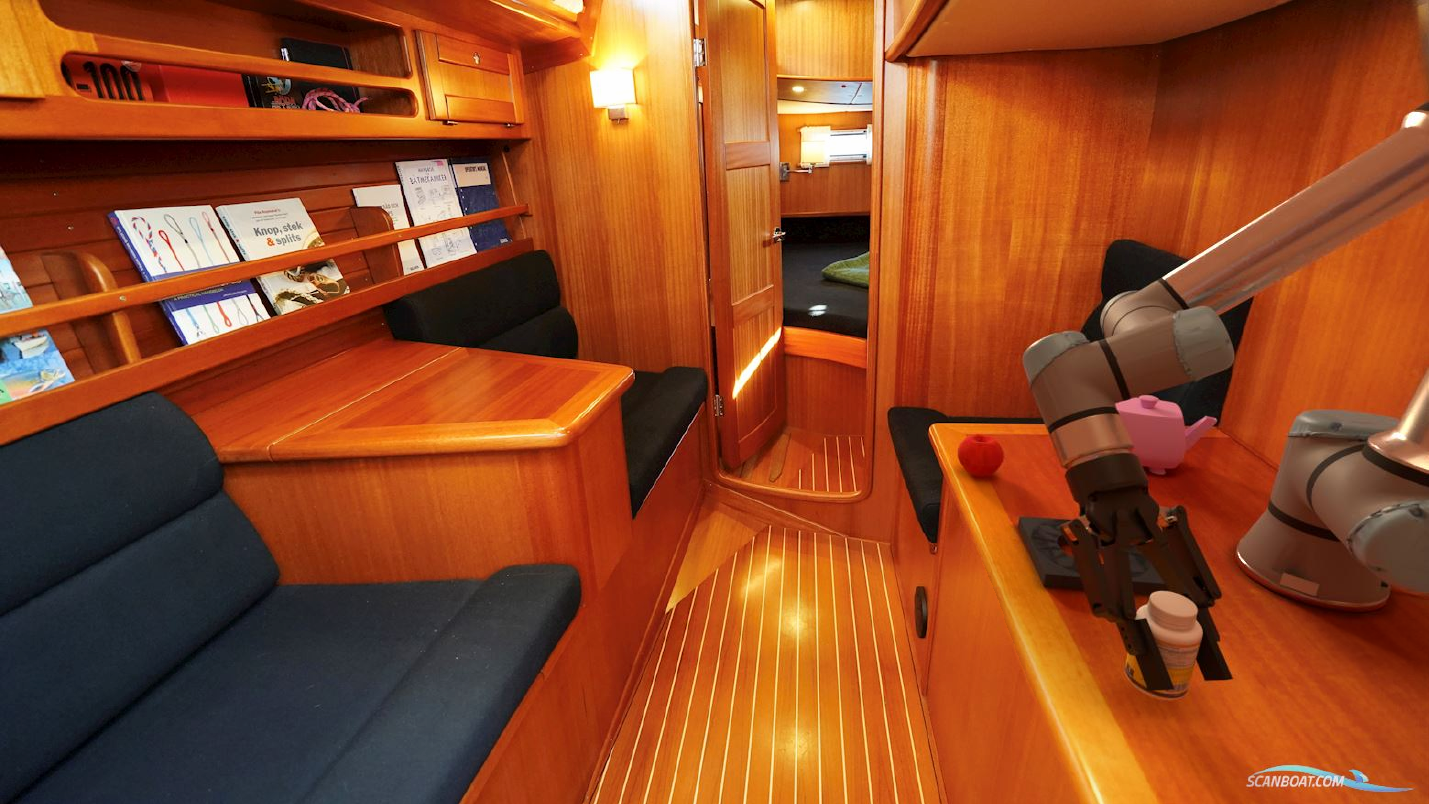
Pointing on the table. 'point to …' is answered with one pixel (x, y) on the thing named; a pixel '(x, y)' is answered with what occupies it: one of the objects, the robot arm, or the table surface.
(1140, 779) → the table surface
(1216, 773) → the table surface
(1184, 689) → the supplement bottle
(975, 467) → the apple
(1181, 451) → the teapot
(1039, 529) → the pad board
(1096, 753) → the table surface
